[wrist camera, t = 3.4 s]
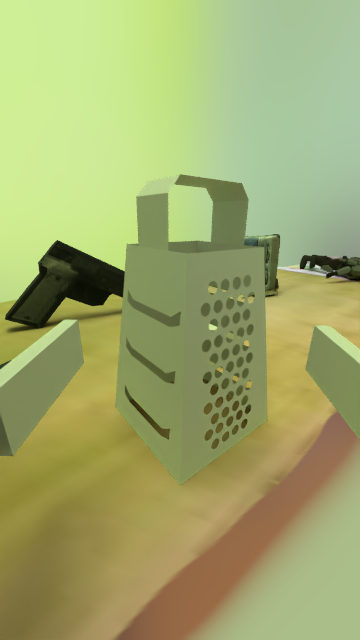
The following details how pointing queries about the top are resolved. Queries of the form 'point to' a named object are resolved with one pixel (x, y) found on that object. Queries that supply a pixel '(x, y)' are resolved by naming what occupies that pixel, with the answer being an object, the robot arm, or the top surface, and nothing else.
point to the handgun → (65, 284)
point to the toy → (334, 265)
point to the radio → (268, 258)
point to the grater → (192, 328)
